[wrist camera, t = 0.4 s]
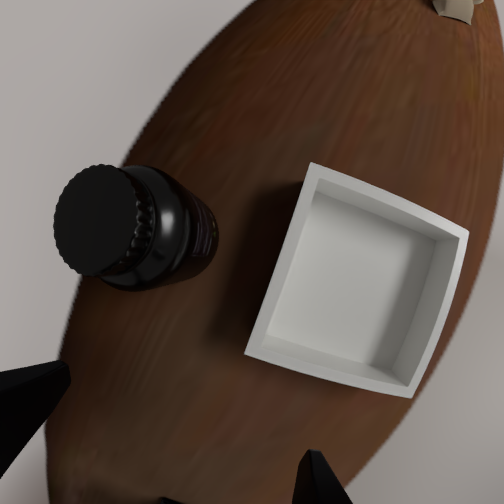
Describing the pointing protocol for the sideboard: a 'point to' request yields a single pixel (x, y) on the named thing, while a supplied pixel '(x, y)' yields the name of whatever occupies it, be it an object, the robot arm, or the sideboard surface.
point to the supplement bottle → (133, 227)
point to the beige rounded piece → (456, 8)
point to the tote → (359, 286)
